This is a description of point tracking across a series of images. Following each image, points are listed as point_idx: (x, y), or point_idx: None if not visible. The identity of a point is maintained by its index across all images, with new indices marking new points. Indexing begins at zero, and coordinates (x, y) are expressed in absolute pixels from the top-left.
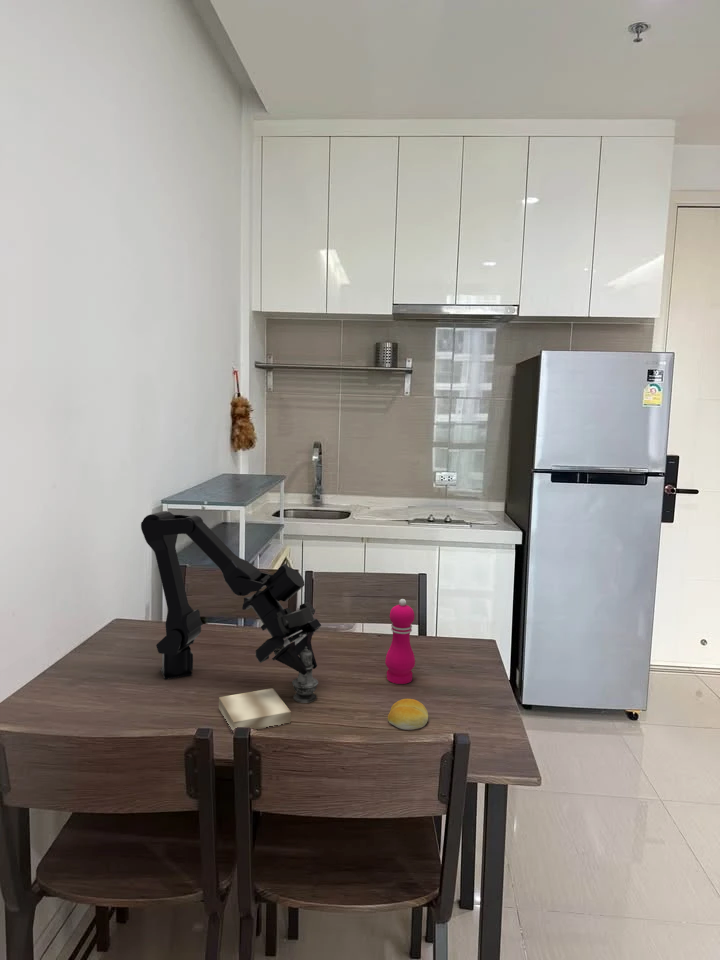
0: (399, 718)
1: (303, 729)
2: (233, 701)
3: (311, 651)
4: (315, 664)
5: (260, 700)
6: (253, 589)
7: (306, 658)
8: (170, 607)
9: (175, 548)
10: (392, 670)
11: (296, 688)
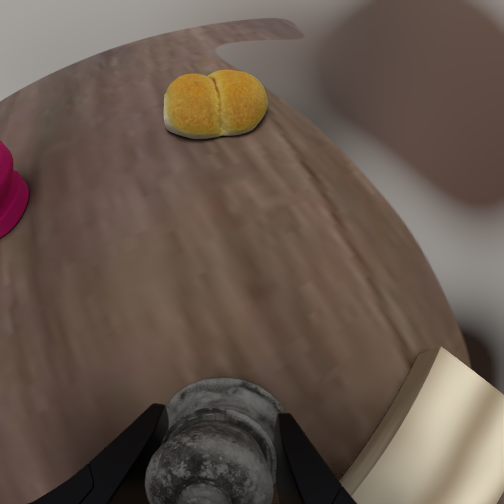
0: (264, 93)
1: (421, 298)
2: None
3: (103, 472)
4: (160, 412)
5: (428, 488)
6: None
7: (260, 452)
8: None
9: None
10: (4, 193)
11: None
